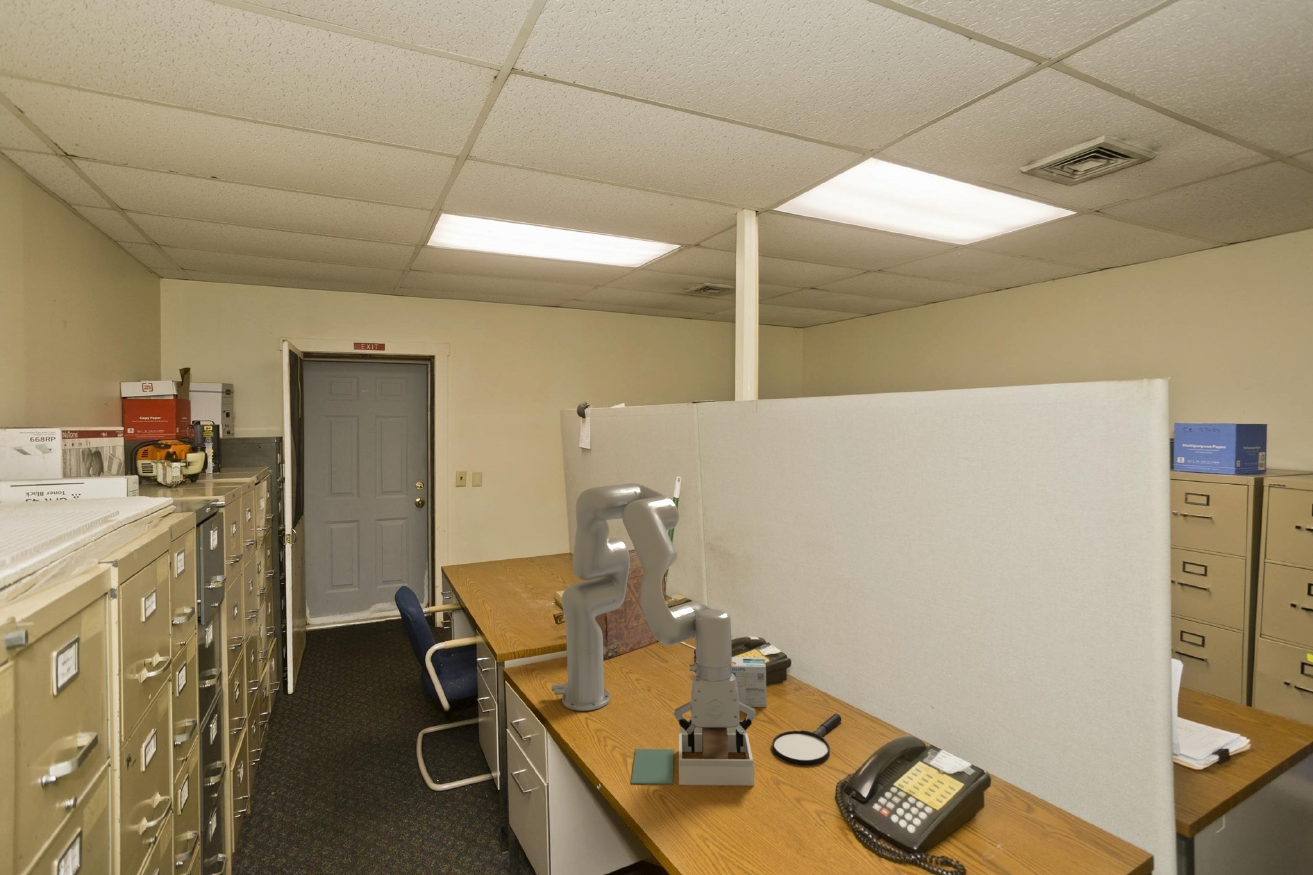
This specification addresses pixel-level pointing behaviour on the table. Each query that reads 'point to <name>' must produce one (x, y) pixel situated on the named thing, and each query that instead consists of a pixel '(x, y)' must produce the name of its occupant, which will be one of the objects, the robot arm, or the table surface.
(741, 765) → the carton
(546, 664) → the table surface
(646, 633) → the book
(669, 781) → the pad
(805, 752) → the magnifying glass
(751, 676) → the light bulb box
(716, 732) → the walnut box
